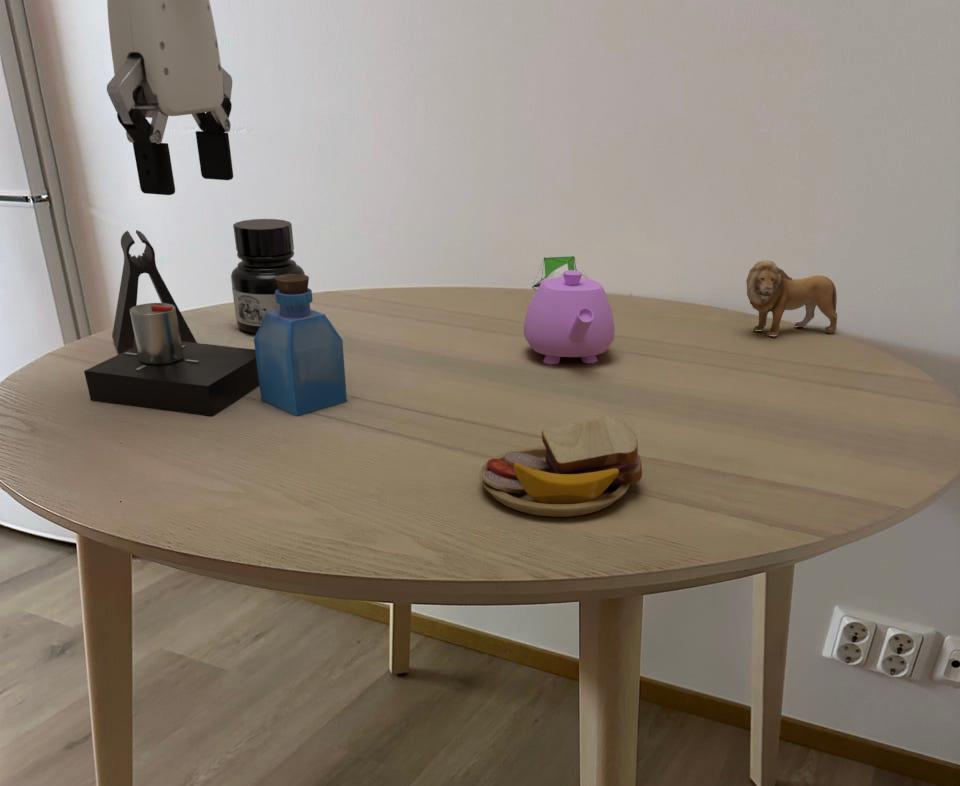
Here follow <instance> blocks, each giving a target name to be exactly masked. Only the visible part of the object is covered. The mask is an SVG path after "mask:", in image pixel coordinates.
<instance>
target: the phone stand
mask: <svg viewBox="0 0 960 786" xmlns="http://www.w3.org/2000/svg"><path fill="white" fill-rule="evenodd" d="M135 234H136V235H137V237H138V239H139V240H140V241H141V243H143V244H145V246H144V250H143V252H142V254H141V255H140V254H138V255H137V256H136V255H135V254H133V256H132V254H131V253H130V249H131V248H132V246H133V245H134V244H136V242H135V239H134V238H133V236H132V235H131V233H130V231H129V230H126V231H124V232H123V233H122V236H121V237H120V248H121V249H122V254H123V265H122V266H123V267H122V272H121V279H120V284H119V291H118V297H117V303H116V309H115V315H114V322H113V329H112V335H111V337H112V341H113V343H114V346H115V349H116V352H117V353H118V355H119V354H121V353H123V352H125V351H127V350H129V349H131V348H133V347H136V340H135V335H134V330H133V325H132V320H131V315H130V309H131V308H132V307H134V306H137V305H138V304H137V303H138V293H139V292H138V289H139V278H140V276H141V275H143V274H147V275H148V276H149V278H150V280H151V283H152V285H153V287H154V290H155V292H156V294H157V297H158V299H159V301H160V303H167V304H171V305H174V306H175V309H176V315H177V321H178V327H179V333H180V339H181V341H183V342H192V343H198V342H197V340H196V338H195V336H194V334H193V333H192V330H191V328H190V327H189V326H188V325H189V324H188V323H187V321H186V320H185V318H184V316H183V314H182V312H181V310H180V308H179V307H178V305H177V303H176V301H175V300H174V297H173V295H172V294H171V292H170V290H169V289H168V287H167V285H166V283H165V281H164V279H163V277H162V276H161V274H160V272H159V269H158V267H157V263H156V252H155V249H154V247H153V245H152V244H151V243H150V241H149V240H148V238H147V237H146V235H145V234H144V233H142V232H141V231H140V230H138V229H136V230H135Z"/></svg>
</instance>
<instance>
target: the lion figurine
mask: <svg viewBox="0 0 960 786" xmlns="http://www.w3.org/2000/svg"><path fill="white" fill-rule="evenodd" d="M746 296H747V298H748V301H749V304H750V305H751V306H752V308H753V309H754V310H756V311H757V312H758V325H756V326H754V327H753V328H752V330H753V329H754V330H763V331H764V329H765V327H766V326H767V319H768V315H769V313H770V312H771V314H772V322H771V326H770V329H769V331H768V332H767V333H766V335H767V334H768V335H777V334H778V335H779V333H780V324H781V321H782V317H783V315H784V313H785V311H795V310H798V309H800V308H802V307H805V315H804V318H803V319H802V320H801V321H797V322H796V323H795V324H794V327H795V326H798V327H804V328H805V327H806V326H807V325H808V324H809V323H810V322H811V321H812V320H813V319H814V318H815V310H816V307H817V308H818V309H819V311H820V312H821V313H822V314H823V315H824V316H825V317H826V318H827V319H828V320H829V322H830V324H829V325H828V326H826V327H825V328H824V332H825V333H827V332H828V333H827V334H834V333H835V332H836V329H837V324H838V312H836V311H837V303H838V299H837V296H838V294H837V289H836V285H835V283H834V282H833V280H832V279H831V278H829V277H828V276H825V275H811V276H808V277H803V278H797V279H793V278H792V277H790V276H789V275H788V274H787V273H786V272H785V271H784V270H783V269H782V268H780V267H779V266H778V265H777V264H776V263H775V262H774V261H772V260H769V259H767V260H761V261H760V260H759V261H757V262H756V263H755V264H754V265H753V267H751V268H750V269H749V270H748V274H747V277H746ZM778 335H777V336H778Z"/></svg>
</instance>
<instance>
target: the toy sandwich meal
mask: <svg viewBox="0 0 960 786" xmlns="http://www.w3.org/2000/svg"><path fill="white" fill-rule="evenodd" d="M541 439H542V443H543V445H541V446H540V445H539V446H529V447H521V448H516V449H512V450H507V451H504V452H502V453H500V454H498V455H495V456H493V457H492V458H490V459H488V460H487V461H486V462H485V463H484V464H483V465H482V467H481V468H480V470H479V474H478V475H479V481H480V484H481V485H482V486H483V488H485V490H486V491H488V493H489V494H491V496H492V497H493V498H494V499H495V500H496V501H498V502H499V503H500V504H501V505H504V506H506V507H508V508H510V509H513V510H515V511H518V512H522V513H525V514H529V515H533V516H539V517H540V516H541V517H551V518H570V517H579V515H580V516H585V514H586V515H590V514H593V512H594V513H596V511H597V512H599V511H601V509H602V510H604V509H606V508H608V507H609V506H611V505H612V504H613V503H614V502H615V501H617V500H619V499H620V498H622V496H624V495H625V494H626V492H627V491H628V489H629V487H630V484H636V483H638V482H640V481H641V480H642V477H643V465H642V464H643V463H642V460H641V456H640V455H639V453H638V451H639V445H638V438H637V435H636V433H635V431H634V430H633V428H631V426H629V425H628V423H626V422H625V421H623V420H621V419H620V418H618V417H615V416H612V415H604V416H602V417H600V418H598V419H597V418H596V419H592V420H588V421H582V422H581V421H580V422H576V423H571V424H564V425H560V426H555V427H549V428H545V429H542V430H541ZM607 506H608V507H607ZM603 508H604V509H603ZM589 513H590V514H589Z"/></svg>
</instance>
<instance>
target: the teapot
mask: <svg viewBox="0 0 960 786" xmlns="http://www.w3.org/2000/svg"><path fill="white" fill-rule="evenodd" d="M576 270H577V269H575V270H568V271H564V272H563V276H562V277H559V278H552V279H547V280H544V279H543V280H544V281H543V280H542V281H543V282H542V281H541V282H542V283H541V284H540V286H539V287H537V289H536V290H537V291H536V290H535V291H534V294H533V297H532V298H531V301H530V302H529V305H528V307H527V310H526V314H525V317H524V323H523V336H524V338H525V340H526V342H527V343H528V345H529V346H530V347H531V349H532V350H533V351H534V352H536V353H537V354H540V355H544V358H543V360H542V362H543V363H544V364H546V365H557V364H559V363H560V361H561V358H581V362H582V363H585V364H591V363H592V364H596V363H595V362H597V361H598V362H599V360H598V358H597V355H601V354H604V353H605V352H606V351H607V350H608V349H609V347H610V346H611V345H612V343H613V342H614V339H615V333H616V332H615V331H616V330H615V317H614V314H613V309H612V306H611V304H610V303H611V302H610V301H609V298H608V296H607V294H606V290H605V289H604V287H603V286H602V284H601V283H600V282H598V281H597V280H595V279H591V278H588V279H587V278H586V277H585V278H584V277H582V276H583V275H582V274H583V272H582V271H580V270H577V271H576ZM598 362H597V363H598Z"/></svg>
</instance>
